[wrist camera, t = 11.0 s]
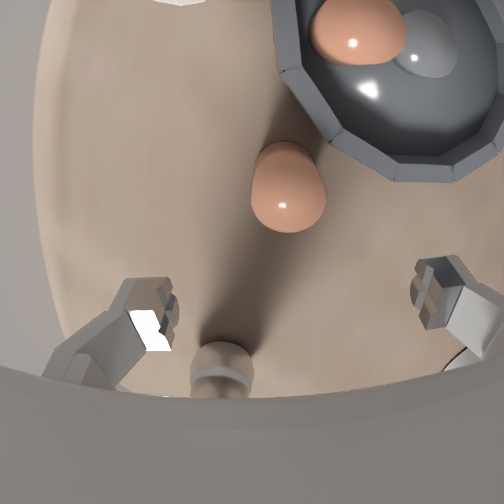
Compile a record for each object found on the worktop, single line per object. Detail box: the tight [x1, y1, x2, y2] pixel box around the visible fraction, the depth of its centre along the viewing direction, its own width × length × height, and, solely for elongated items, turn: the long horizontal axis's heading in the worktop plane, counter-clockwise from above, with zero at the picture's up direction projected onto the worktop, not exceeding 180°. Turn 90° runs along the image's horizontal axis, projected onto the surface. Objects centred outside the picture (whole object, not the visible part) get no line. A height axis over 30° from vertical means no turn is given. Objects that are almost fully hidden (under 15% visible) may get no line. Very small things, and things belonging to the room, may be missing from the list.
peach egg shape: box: [307, 0, 406, 66], centre depth 11 cm, size 4×4×5 cm
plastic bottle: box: [190, 341, 254, 399], centre depth 22 cm, size 6×7×20 cm
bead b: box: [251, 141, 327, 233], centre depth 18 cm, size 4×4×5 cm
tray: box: [270, 0, 504, 183], centre depth 13 cm, size 18×18×3 cm
